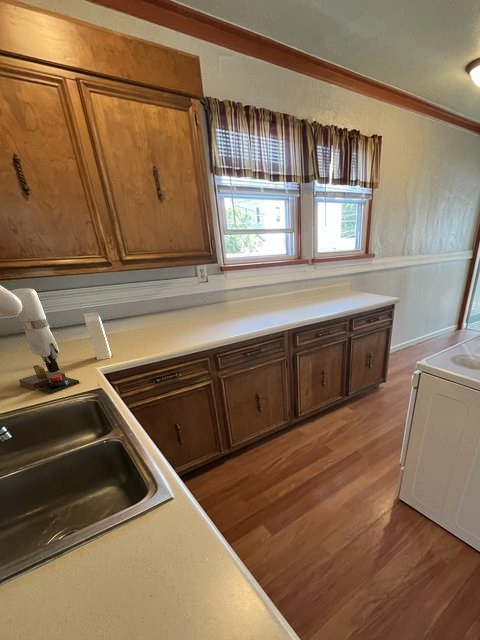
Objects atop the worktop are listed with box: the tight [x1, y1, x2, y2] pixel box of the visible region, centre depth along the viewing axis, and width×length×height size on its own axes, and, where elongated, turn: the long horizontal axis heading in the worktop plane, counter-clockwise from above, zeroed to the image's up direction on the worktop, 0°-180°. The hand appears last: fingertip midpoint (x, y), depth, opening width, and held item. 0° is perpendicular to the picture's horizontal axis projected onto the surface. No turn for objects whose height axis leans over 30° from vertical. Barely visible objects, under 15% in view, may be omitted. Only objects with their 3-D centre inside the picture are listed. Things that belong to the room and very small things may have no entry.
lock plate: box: [18, 370, 67, 391], centre depth 133 cm, size 12×10×3 cm
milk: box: [83, 311, 112, 361], centre depth 156 cm, size 6×6×22 cm
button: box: [50, 375, 63, 382], centre depth 128 cm, size 4×4×2 cm
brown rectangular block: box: [32, 364, 47, 378], centre depth 131 cm, size 6×2×4 cm, turn 57°
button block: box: [38, 375, 80, 395], centre depth 129 cm, size 11×8×4 cm
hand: (54, 371), depth 126 cm, fingers closed
